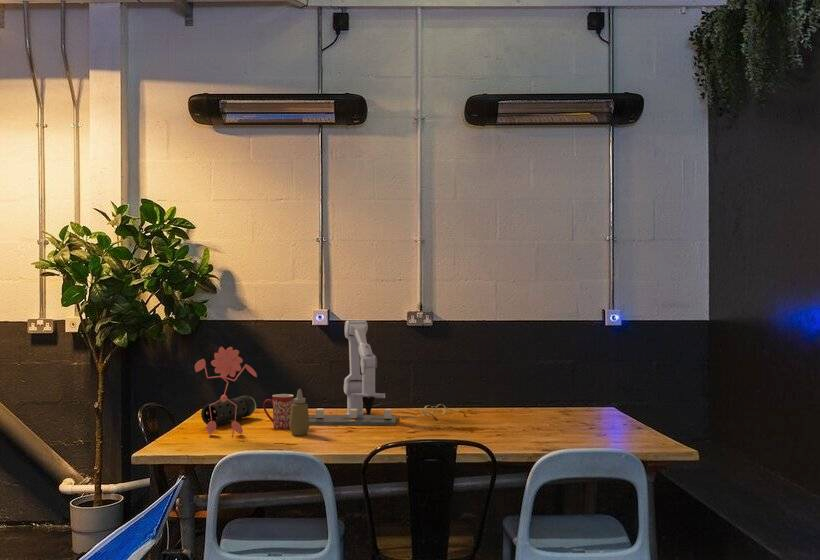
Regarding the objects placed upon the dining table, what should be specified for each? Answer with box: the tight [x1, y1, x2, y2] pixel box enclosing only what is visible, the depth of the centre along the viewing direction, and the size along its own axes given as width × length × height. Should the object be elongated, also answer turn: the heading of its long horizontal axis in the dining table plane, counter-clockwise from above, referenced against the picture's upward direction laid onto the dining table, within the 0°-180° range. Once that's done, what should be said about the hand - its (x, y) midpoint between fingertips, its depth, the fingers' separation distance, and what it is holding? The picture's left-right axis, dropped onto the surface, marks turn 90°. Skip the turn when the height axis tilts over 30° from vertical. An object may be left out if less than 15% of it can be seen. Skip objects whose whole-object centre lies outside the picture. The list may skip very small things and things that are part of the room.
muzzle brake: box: [200, 395, 257, 427], centre depth 308 cm, size 10×28×10 cm, turn 158°
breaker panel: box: [309, 414, 398, 427], centre depth 310 cm, size 18×41×2 cm, turn 87°
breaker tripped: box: [350, 409, 358, 418], centre depth 310 cm, size 4×3×4 cm
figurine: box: [194, 346, 258, 438], centre depth 282 cm, size 15×26×35 cm, turn 85°
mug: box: [262, 393, 294, 430], centre depth 296 cm, size 13×9×14 cm
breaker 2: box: [383, 408, 393, 419], centre depth 309 cm, size 4×3×4 cm
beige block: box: [315, 407, 325, 418], centre depth 310 cm, size 4×3×4 cm
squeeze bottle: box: [289, 388, 311, 437], centre depth 281 cm, size 8×8×18 cm
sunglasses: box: [421, 403, 467, 422], centre depth 323 cm, size 17×15×5 cm
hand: (368, 414), depth 309 cm, fingers closed
